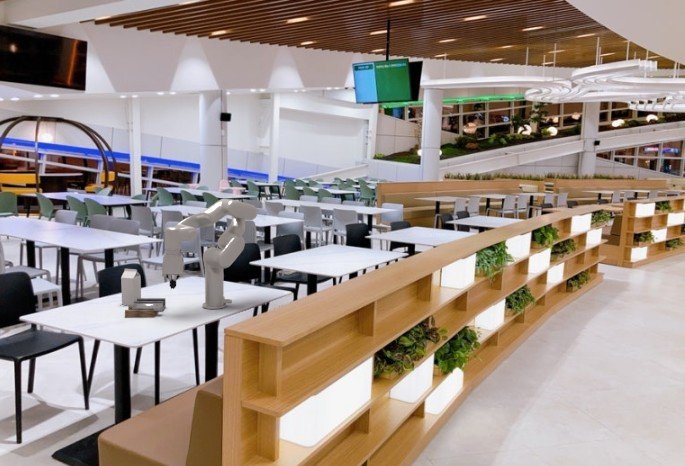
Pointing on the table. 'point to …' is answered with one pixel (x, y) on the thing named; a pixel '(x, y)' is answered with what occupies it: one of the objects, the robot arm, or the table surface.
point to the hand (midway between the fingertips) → (172, 288)
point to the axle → (147, 306)
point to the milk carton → (130, 286)
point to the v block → (152, 301)
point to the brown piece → (139, 313)
